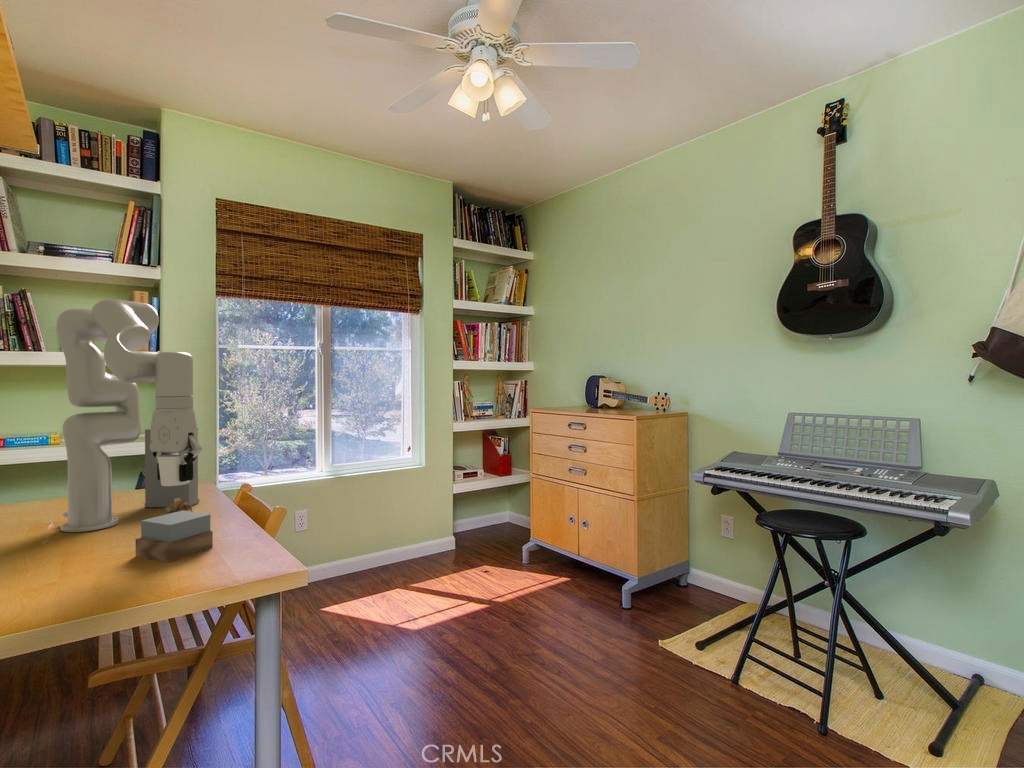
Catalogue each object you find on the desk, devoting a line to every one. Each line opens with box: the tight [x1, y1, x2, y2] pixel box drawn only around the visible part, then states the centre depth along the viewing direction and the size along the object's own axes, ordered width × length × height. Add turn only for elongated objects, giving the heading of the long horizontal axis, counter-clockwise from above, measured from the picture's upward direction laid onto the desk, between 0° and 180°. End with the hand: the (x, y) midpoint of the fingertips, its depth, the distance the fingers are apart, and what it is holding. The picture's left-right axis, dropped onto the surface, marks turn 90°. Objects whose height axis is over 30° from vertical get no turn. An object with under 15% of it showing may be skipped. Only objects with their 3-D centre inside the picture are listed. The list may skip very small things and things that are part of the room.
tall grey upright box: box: [144, 427, 200, 508], centre depth 170 cm, size 14×6×25 cm, turn 93°
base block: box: [135, 530, 214, 563], centre depth 125 cm, size 11×11×4 cm
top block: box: [140, 511, 211, 543], centre depth 125 cm, size 10×10×4 cm
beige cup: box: [158, 453, 190, 486], centre depth 125 cm, size 7×7×7 cm
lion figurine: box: [165, 498, 193, 514], centre depth 138 cm, size 15×5×9 cm, turn 54°
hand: (175, 479), depth 125 cm, fingers closed on beige cup, 6 cm apart
